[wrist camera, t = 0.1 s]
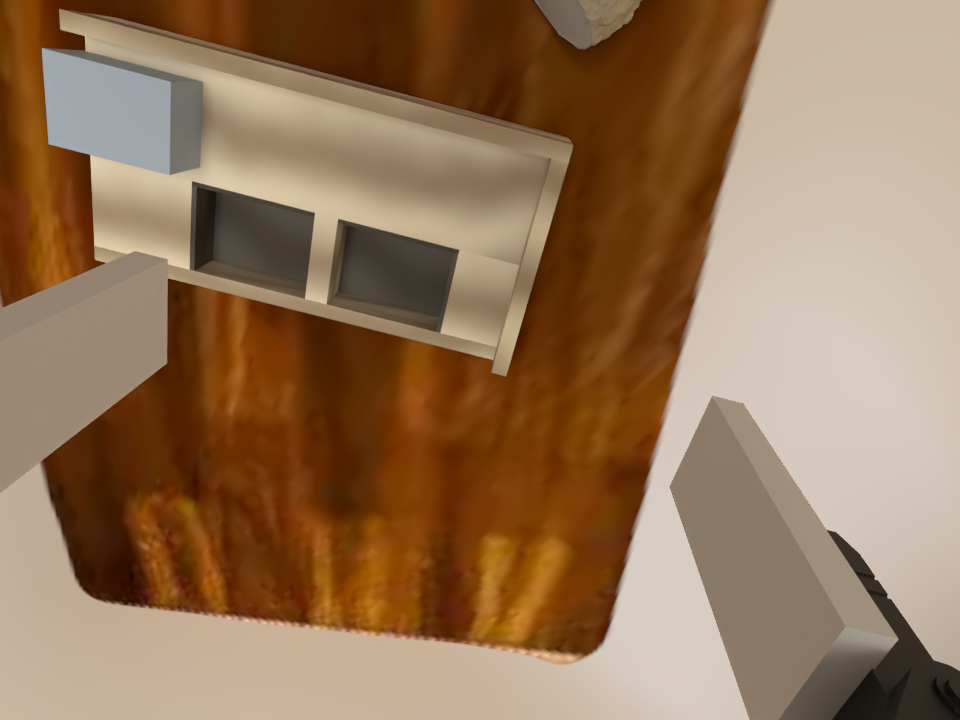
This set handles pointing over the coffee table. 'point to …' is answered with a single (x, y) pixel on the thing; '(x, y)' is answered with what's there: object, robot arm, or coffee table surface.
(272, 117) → the box
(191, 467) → the coffee table surface
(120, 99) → the block
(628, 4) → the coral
